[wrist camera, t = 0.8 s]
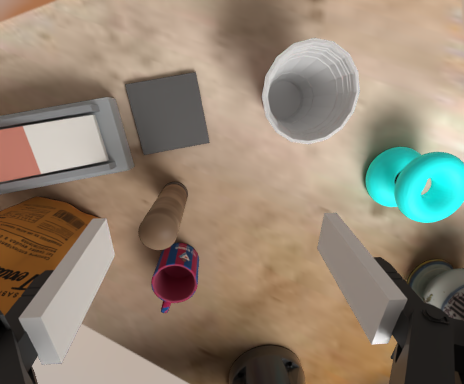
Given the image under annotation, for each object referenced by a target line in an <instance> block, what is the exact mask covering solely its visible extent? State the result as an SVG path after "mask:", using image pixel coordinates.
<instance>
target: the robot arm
mask: <svg viewBox="0 0 464 384" xmlns="http://www.w3.org/2000/svg"><path fill="white" fill-rule="evenodd" d="M317 249H318V251H319V252H320V254H321V256H322V258H323V260H324V261H325V263H326V265H327V267H328V268H329V270H330V272H331V274H332V275H333V277H334V279H335V281H336V282H337V284H338V286H339V288H340V290H341V291H342V293H343V295H344V297H345V298H346V300H347V302H348V304H349V305H350V307H351V309H352V311H353V312H354V314H355V316H356V318H357V320H358V321H359V323H360V325H361V327H362V328H363V330H364V332H365V334H366V335H367V337H368V339H369V341H370V342H371V344H385V343H388V342H389V340H390V338H391V336H392V335H393V336H394V338H395V339H396V341H397V342H398V343H397V345H396V347H395V349H394V351H393V354H392V356H391V359H393V364H392V370H391V376H390V381H389V384H464V321H463V320H458V319H454V318H450V317H449V316H448V315H447V314H446V313H445V312H444V311H442V310H441V309H440V308H438V307H436V306H434V305H431V304H428V303H424V302H423V301H422V299H421V298H420V297H419V296H418V295H417V294H416V293H415V291H414V290H413V289H412V288H411V287H410V286H409V285H408V284H407V282H406V281H405V280H403V278H402V277H401V276H400V274H399V273H397V271H396V270H395V269H394V268H393V267H392V265H391V264H390V263H388V262H387V261H385V260H384V259H382V258H381V257H374V258H373V257H372V255H371V254H370V253H369V252H368V250H367V249H366V248H365V247H364V246H363V244H362V243H361V242H360V241H359V240H358V238H357V237H356V236H355V235H354V234H353V232H352V231H351V230H350V229H349V227H348V226H347V225H346V224H345V223H344V221H343V220H342V219H341V218H340V217H339V215H338V214H337V213H324V217H323V222H322V227H321V232H320V237H319V242H318V247H317ZM114 256H115V253H114V249H113V244H112V240H111V236H110V232H109V227H108V223H107V219H106V218H95V219H92V220H91V222H90V223H89V224H88V226H87V227H86V228H85V230H84V231H83V232H82V234H81V235H80V236H79V238H78V239H77V240H76V242H75V243H74V244H73V246H72V247H71V249H70V250H69V251H68V253H67V254H66V255H65V257H64V258H63V259H62V261H61V262H60V263H59V265H58V266H57V267H56V269H55V270H45V271H44V272H43V273H41V274H40V275H39V276H37V277H36V278H35V279H34V280H33V281H32V282H31V284H30V285H29V286H28V287H27V289H26V290H25V291H24V292H23V293H22V295H21V297H19V298H18V300H17V301H16V302H15V303H14V305H13V306H12V307H11V308H10V310H9V311H8V312H7V313H6V315H5V316H4V314H3V313H2V312H1V310H0V384H38V383H37V379H36V376H35V372H34V370H33V368H32V365H33V363H34V361H35V359H36V358H37V356H38V358H39V360H40V362H41V364H42V365H45V364H61V363H62V362H63V360H64V358H65V356H66V354H67V352H68V350H69V348H70V346H71V344H72V341H73V340H74V338H75V336H76V333H77V332H78V329H79V328H80V326H81V323H82V321H83V319H84V317H85V315H86V313H87V311H88V309H89V307H90V305H91V303H92V301H93V299H94V297H95V295H96V293H97V291H98V289H99V287H100V285H101V283H102V281H103V279H104V277H105V275H106V273H107V271H108V269H109V267H110V264H111V262H112V260H113V258H114ZM229 384H305V375H304V371H303V369H302V366H301V363H300V361H299V359H298V358H297V356H296V355H295V354H294V353H293V352H291V351H290V350H288V349H286V348H283V347H280V346H273V345H268V346H260V347H257V348H254V349H251V350H249V351H247V352H245V353H244V354H242V355H241V356H240V357H239V358H238V359H237V360H236V361H235V362H234V364H233V365H232V367H231V369H230V372H229Z"/></svg>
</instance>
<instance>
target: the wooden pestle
mask: <svg viewBox="0 0 464 384" xmlns="http://www.w3.org/2000/svg"><path fill="white" fill-rule="evenodd" d="M187 197H188V192H187V189H186V187H185V186H184V185H183V184H181V183H179V182H171V183H168V184H167V185H166V186H165V187H164V189H163V190H162V192H161V193H160V195H159V196H158V198H157V199H156V201H155V202H154V204H153V206H152V207H151V209H150V210H149V212H148V213H147V215H146V216H145V218H144V220H143V221H142V223H141V224H140V227H139V237H140V240H141V241H142V243H143V244H144V245H146V246H147V247H149V248H151V249H154V250H163V249H166V248H168V247H170V246H171V245H173V243H174V242H175V241H176V238H177V235H178V231H179V227H180V223H181V219H182V216H183V212H184V208H185V204H186V200H187Z"/></svg>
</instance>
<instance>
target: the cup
mask: <svg viewBox="0 0 464 384" xmlns="http://www.w3.org/2000/svg"><path fill="white" fill-rule="evenodd" d="M198 267H199V256H198V254H197V252H196V250H195V249H194V248H193V247H191V246H190V245H188V244H185V243H174V244H173V245H171V246H170V247H168V248H166V249H164V250H163V251H162V252H161V255H160V257H159V260H158V263H157V266H156V269H155V272H154V274H153V277H152V289H153V291H154V293H155V294H156V296H157V297H159V298H160V299H161V300H163V304H162V307H161V312H162V313H167V312H168V310H169V308H170V305H171V303H179V302H183V301H185V300H187V299H189V298H190V297H191V296H192V295H193V294H194V293H195V291H196V289H197V284H198Z"/></svg>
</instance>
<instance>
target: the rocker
mask: <svg viewBox="0 0 464 384" xmlns="http://www.w3.org/2000/svg"><path fill="white" fill-rule="evenodd" d="M107 160H109V159H108V155H107V152H106V149H105V146H104V142H103V139H102V136H101V133H100V129H99V126H98V123H97V120H96V116H95V115H88V116H82V117H76V118H70V119H63V120H57V121H51V122H45V123H39V124H33V125H27V126H21V127H15V128H9V129H2V130H0V182H3V181H8V180H13V179H18V178H23V177H28V176H33V175H38V174H43V173H48V172H53V171H58V170H63V169H68V168H73V167H78V166H83V165H88V164H93V163H98V162H103V161H107Z"/></svg>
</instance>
